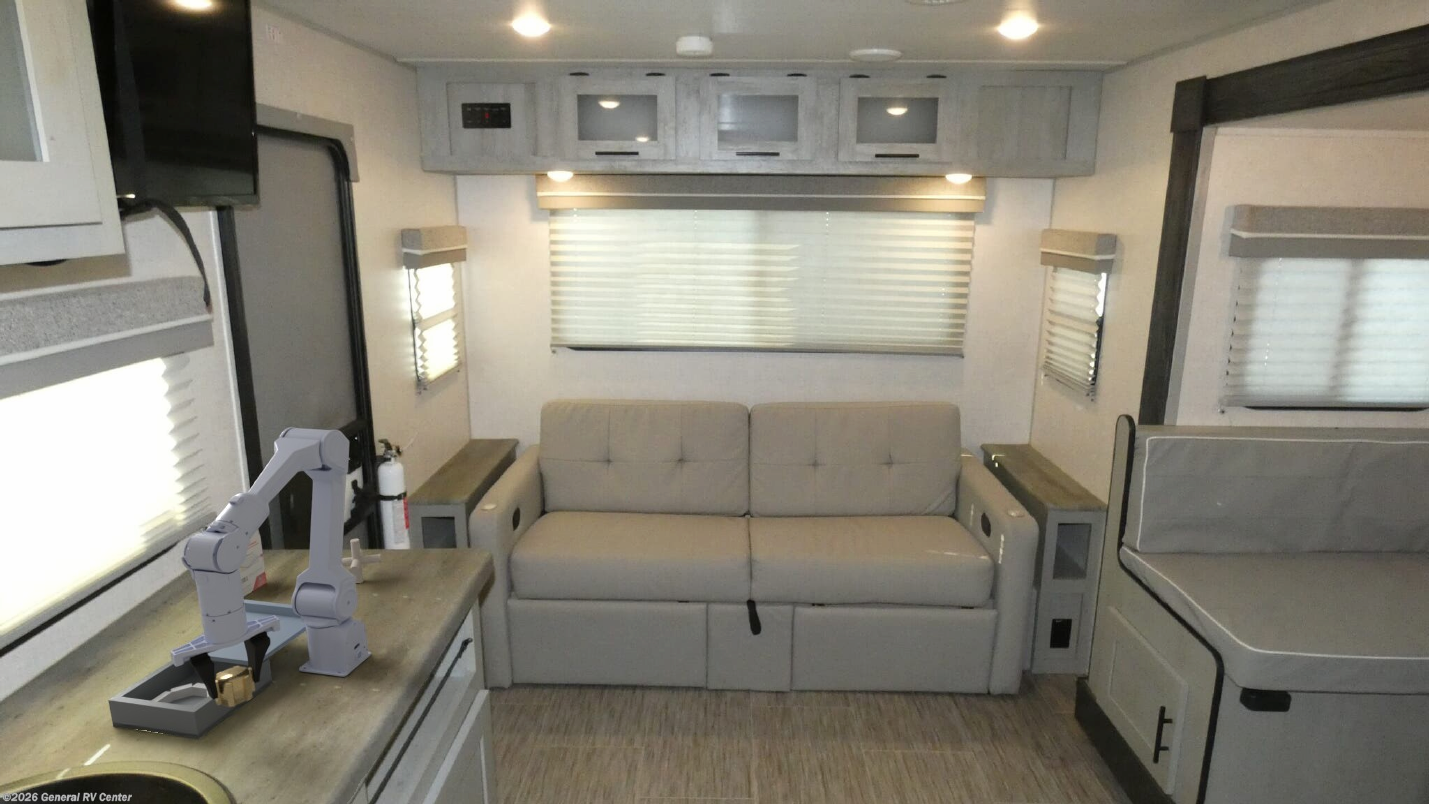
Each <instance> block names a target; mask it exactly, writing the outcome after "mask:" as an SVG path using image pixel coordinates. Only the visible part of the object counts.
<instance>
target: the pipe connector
mask: <svg viewBox="0 0 1429 804" xmlns="http://www.w3.org/2000/svg"><path fill="white" fill-rule="evenodd" d="M360 543H361V542H360V539H359V538H352V539H350V551H351V553H350V554H351V556H350V557H349V556H348V557H342V565H343V566H344V567H349V566H350V569H349V572H351V573H352V574H353V575H354V576H355V583H360V584H362V583H363V582H364V575H363V565H367V564H368V565H369V564H377V563H382V554H381V553H378V554H369V555H364V553H365V552H364V550H363V549H362V548H361V545H360Z"/></svg>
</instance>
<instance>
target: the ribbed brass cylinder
mask: <svg viewBox="0 0 1429 804" xmlns="http://www.w3.org/2000/svg"><path fill="white" fill-rule="evenodd" d="M215 682H216V687H217V691H218V698H216V699H215V700H216V704H217V705H220V704H221V705H224V706H229V707H232V706H235V705H237V704H240V703H242V702H245V701H246V700H250V699H251V698H252V699H253V698H254V697H252V692H253V691H255V685H254V680H253V671H252V668H251V667H249V668H246V667H240V666H234V667H233V668H230V669H227V670H225V671H223V672H219V673H217V674H216V680H215ZM252 699H251V700H252ZM251 700H250V701H251Z"/></svg>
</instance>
